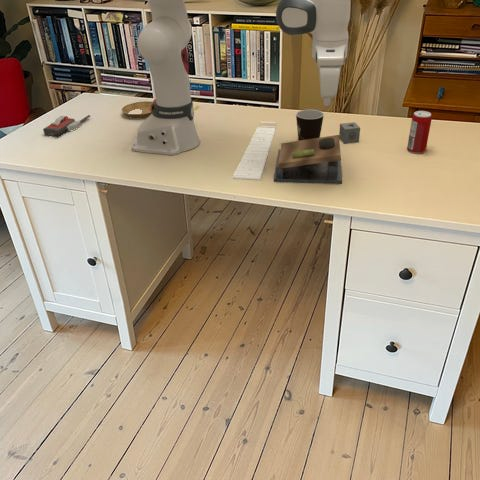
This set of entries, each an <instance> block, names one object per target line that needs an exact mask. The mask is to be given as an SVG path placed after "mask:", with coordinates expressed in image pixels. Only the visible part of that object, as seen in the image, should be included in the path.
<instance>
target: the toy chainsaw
mask: <svg viewBox="0 0 480 480" xmlns="http://www.w3.org/2000/svg"><path fill="white" fill-rule="evenodd" d="M90 117H91V115H90V114H88V115H87V116H85V117H83V118H82V119H80V120H75V119H74V118H70V117H68V116H66V115H60V116H59V117H57V118H56V119H54V122H51V123H50V124H49V125H48V126H46V127H44V128H43V129H42V130H43V135H44V137H49V136H52V137H51V138H60V137H62V136H64V135H65V134H67V133H68V132H67V131H71V130H74V129H76V128H77V129H78V127H79V126H81V127H82V124H83V123H85V121H87V120H88V119H89V118H90ZM79 128H80V127H79ZM77 129H76V130H77ZM74 131H75V130H74ZM66 132H67V133H66ZM71 132H72V131H71ZM64 133H65V134H64ZM63 134H64V135H63ZM61 135H62V136H61ZM59 136H60V137H59Z"/></svg>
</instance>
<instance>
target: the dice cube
mask: <svg viewBox="0 0 480 480" xmlns="http://www.w3.org/2000/svg"><path fill="white" fill-rule="evenodd" d="M360 133H361V126H359V124H358V123H356V122H352V121H351V122H344V123H340V124H339V133H338V135H339V141H341V142H342V143H343V144H344V145H345V144H357V143H360V137H361V135H360Z"/></svg>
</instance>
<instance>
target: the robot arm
mask: <svg viewBox="0 0 480 480" xmlns="http://www.w3.org/2000/svg"><path fill="white" fill-rule="evenodd" d="M146 1H147V3H148V6H149V10H150V14H151V18H152V19H151V21H150V22H149V23H147V24H146V25H145V26H144V27H143V28H142V30H141V32H140V33H139V35H138V38H137V49H138V51H139V53H140V55H141V56H142V58H143V59H144V60H145V61H146V63H147V66H148V70H149V72H150V75H151V79H152V83H153V90H154V96H155V97H154V99H153V100H152V101H151V102H152V105H151V107H150V112H152V114H151V115H150V116H149V117H148V118H145V119H144V120H143V121H142V122H141V123H140V124H139V126H138V128H137V134H136V137H135V138H134V139H133V140H132V142H131V145H130V146H131V150H132V152H139V153H148V154H150V153H151V154H157V155H158V154H159V155H167V156H175V155H177V154H180V153H182V152H186V151H189V150H192V149H194V148H197V147H198V146H199V144H200V143H201V140H200V137H199V136H198V132H197V129H196V124H195V121H194V120H195V119H194V117H195V111H194V110H195V108H194V101H193V100H192V96H191V85H190V76H189V74H188V72H187V70H186V69H185V65H184V63H183V59H182V51H183V50H184V49H185V48H187V46H188V44H189V43H190V40H191V37H192V35H193V29H192V28H193V26H192V24H191V22H190V20H189V15H188V11H187V6H186V2H185V0H146ZM351 5H352V4H351V0H280V1H279V3H278V4H277V6H276V11H275V19H276V24H277V26H278V27H279V29H280V30H281V31H282V32H283V33H284V34H285V35H288V36H300V35H306V34H311V35H312V46H311V47H312V49H311V57H312V59H314V61H315V63H316V65H317V67H318V71H319V72H318V73H319V87H320V96H321V98H323V106H326V107H327V106H330V105H331V101H332V98H336V97H337V94H338V93H337V92H338V88H339V82H340V75H341V69H342V66H344V65H345V60H346V58H348V50H349V48H348V47H349V36H350V35H349V31H348V26H349V23H350V20H351V19H350V18H351Z"/></svg>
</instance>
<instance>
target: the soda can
mask: <svg viewBox="0 0 480 480" xmlns="http://www.w3.org/2000/svg"><path fill="white" fill-rule="evenodd" d="M432 119H433V117H432V113H431V112H429V111H425V110H417V111H415V112H413V115H412V118H411V123H410V129H409V134H408V141H407V146H406V149H407V150H408V152H409V153H412V154H417V155H418V154H419V155H420V154H422V153H425V152H426V150H427V146H428V141H429V134H430V131H431V124H432Z"/></svg>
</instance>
